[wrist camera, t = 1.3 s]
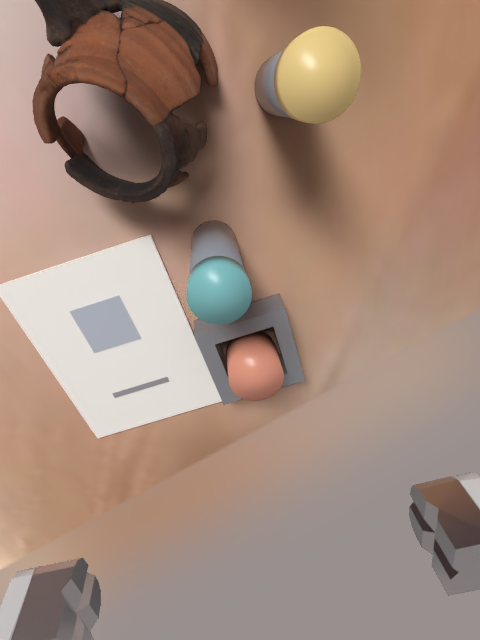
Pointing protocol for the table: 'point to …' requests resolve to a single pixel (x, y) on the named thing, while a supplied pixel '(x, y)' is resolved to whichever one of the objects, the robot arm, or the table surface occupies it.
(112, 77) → the pottery mug
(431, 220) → the table surface
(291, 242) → the table surface
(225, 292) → the marker teal
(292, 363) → the button housing
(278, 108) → the marker ochre
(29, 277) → the paper
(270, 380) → the button
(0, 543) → the table surface
